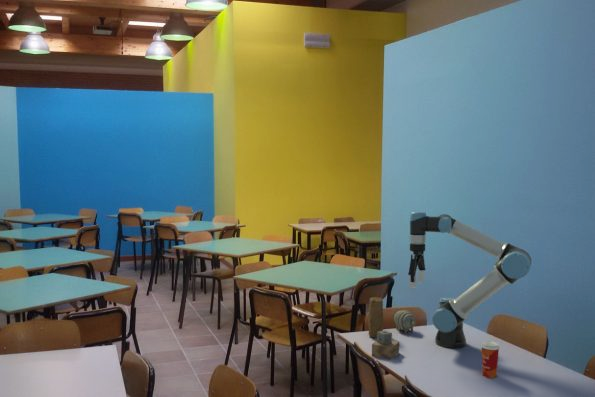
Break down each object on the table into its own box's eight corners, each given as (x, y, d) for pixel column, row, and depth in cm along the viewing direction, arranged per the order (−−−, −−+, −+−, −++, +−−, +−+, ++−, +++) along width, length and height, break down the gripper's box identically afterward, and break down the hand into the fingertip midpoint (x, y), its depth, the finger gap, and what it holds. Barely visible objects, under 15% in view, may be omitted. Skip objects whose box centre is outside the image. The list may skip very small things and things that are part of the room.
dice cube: (383, 344, 266) (383, 334, 266) (376, 341, 270) (377, 331, 270) (391, 343, 268) (391, 332, 268) (385, 340, 273) (385, 330, 272)
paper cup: (477, 372, 247) (478, 340, 246) (495, 372, 247) (496, 341, 246) (483, 379, 239) (483, 346, 238) (501, 379, 239) (502, 346, 238)
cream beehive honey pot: (401, 325, 317) (402, 306, 316) (423, 333, 303) (423, 313, 302) (387, 328, 311) (387, 308, 311) (408, 336, 297) (408, 315, 296)
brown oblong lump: (383, 338, 293) (383, 300, 292) (368, 338, 294) (369, 300, 293) (382, 332, 304) (382, 295, 303) (368, 332, 305) (368, 295, 304)
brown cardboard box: (398, 353, 271) (398, 341, 271) (392, 360, 262) (392, 347, 262) (378, 350, 276) (379, 338, 276) (371, 356, 267) (372, 344, 267)
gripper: (417, 239, 290) (416, 280, 291) (402, 245, 268) (401, 289, 269) (431, 240, 287) (430, 282, 288) (417, 246, 265) (417, 291, 266)
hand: (416, 285), depth 279 cm, fingers open, 13 cm apart
